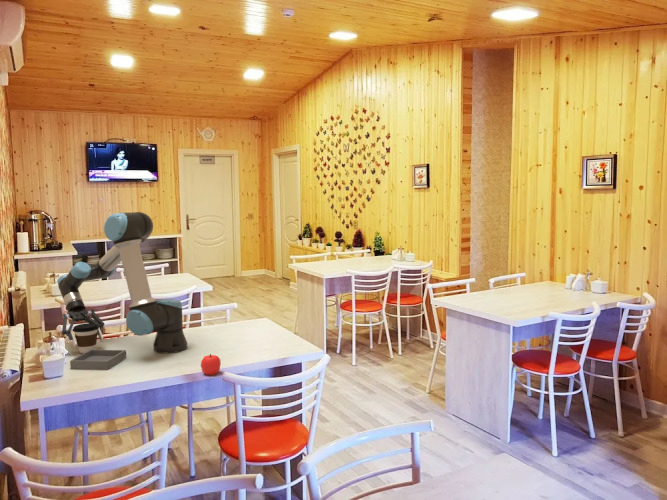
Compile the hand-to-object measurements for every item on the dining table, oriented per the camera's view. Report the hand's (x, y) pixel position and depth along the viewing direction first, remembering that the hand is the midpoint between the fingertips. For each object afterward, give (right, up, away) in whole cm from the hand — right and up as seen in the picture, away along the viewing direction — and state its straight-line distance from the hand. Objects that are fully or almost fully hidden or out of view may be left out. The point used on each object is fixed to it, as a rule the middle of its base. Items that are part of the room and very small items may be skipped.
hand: (89, 342), depth 245 cm
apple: (+61, -8, -28) cm, 68 cm away
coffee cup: (-2, -5, +3) cm, 6 cm away
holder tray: (+10, -6, -14) cm, 18 cm away
